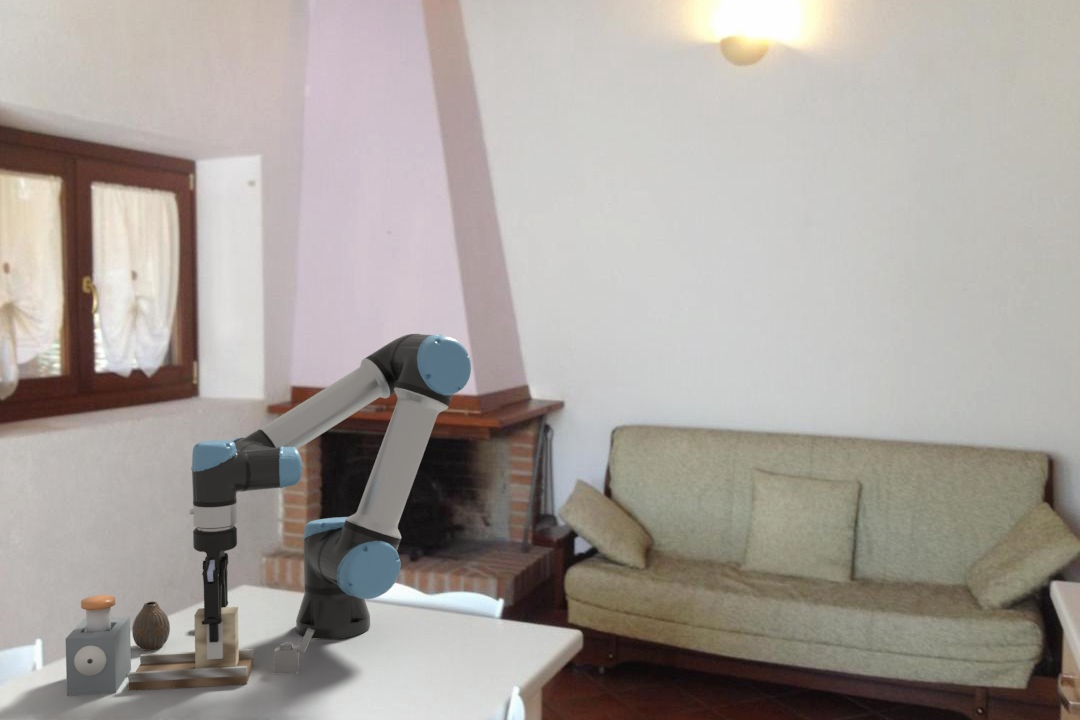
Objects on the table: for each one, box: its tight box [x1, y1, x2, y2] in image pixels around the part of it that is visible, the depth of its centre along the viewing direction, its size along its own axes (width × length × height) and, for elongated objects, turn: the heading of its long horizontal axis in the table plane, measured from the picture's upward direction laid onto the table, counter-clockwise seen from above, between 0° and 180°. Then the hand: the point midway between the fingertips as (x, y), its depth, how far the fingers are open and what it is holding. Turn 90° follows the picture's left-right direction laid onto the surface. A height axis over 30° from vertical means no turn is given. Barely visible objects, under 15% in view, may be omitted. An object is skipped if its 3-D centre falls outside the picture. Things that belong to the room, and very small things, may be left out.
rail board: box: [127, 648, 254, 692], centre depth 182 cm, size 20×10×3 cm, turn 99°
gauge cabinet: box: [65, 616, 132, 696], centre depth 179 cm, size 8×12×10 cm
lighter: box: [274, 628, 315, 675], centre depth 185 cm, size 7×2×8 cm, turn 95°
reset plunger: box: [80, 594, 116, 632], centre depth 179 cm, size 6×6×8 cm
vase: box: [131, 601, 171, 651], centre depth 198 cm, size 7×7×9 cm
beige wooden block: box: [194, 606, 239, 669], centre depth 182 cm, size 7×4×10 cm, turn 99°
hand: (217, 653), depth 182 cm, fingers closed on beige wooden block, 4 cm apart
